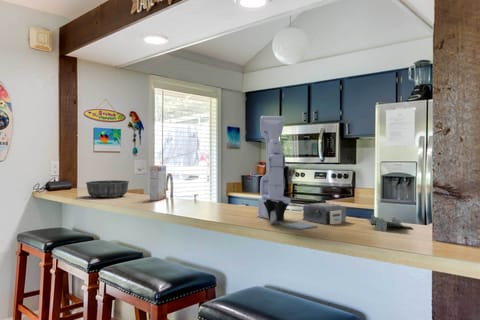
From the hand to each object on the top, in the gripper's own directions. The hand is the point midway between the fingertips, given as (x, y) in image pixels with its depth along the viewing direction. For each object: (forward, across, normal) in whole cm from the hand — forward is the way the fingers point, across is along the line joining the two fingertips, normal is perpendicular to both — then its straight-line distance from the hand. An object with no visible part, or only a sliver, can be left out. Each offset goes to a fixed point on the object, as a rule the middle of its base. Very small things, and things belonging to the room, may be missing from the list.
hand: (275, 220), depth 139 cm
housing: (+1, +5, +22) cm, 23 cm away
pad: (+1, +9, +4) cm, 10 cm away
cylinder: (+1, 0, 0) cm, 1 cm away
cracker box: (+2, -103, -5) cm, 103 cm away
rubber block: (+2, -5, +5) cm, 7 cm away
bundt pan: (+2, -135, -26) cm, 137 cm away
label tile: (+1, +12, +20) cm, 24 cm away
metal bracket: (+2, +29, +29) cm, 41 cm away
